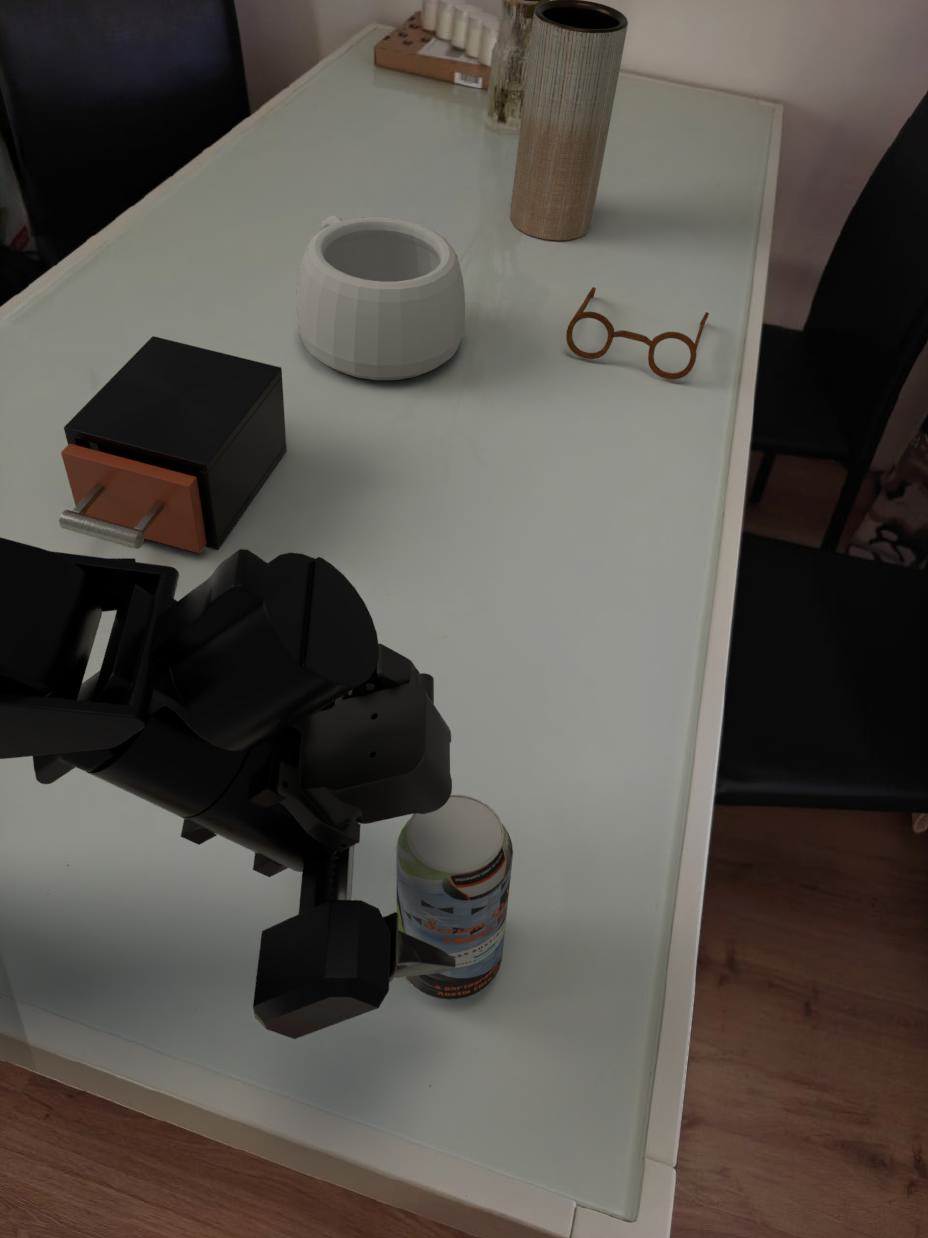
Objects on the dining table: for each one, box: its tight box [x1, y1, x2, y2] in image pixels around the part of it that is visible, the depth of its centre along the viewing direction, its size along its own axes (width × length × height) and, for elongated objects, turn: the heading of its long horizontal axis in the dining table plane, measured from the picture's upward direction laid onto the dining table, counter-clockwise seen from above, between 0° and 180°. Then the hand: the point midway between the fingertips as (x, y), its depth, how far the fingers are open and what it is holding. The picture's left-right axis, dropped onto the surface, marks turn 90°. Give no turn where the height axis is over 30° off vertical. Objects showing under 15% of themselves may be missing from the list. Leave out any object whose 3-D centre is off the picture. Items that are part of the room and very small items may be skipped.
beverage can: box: [395, 794, 514, 1000], centre depth 54 cm, size 6×7×12 cm
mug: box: [295, 214, 466, 381], centre depth 98 cm, size 21×17×10 cm
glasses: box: [565, 286, 710, 381], centre depth 103 cm, size 13×13×5 cm
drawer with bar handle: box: [58, 442, 207, 554], centre depth 78 cm, size 17×10×7 cm, turn 164°
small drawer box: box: [63, 335, 288, 551], centre depth 81 cm, size 14×12×9 cm
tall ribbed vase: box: [509, 0, 629, 242], centre depth 113 cm, size 10×10×23 cm
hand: (448, 881), depth 52 cm, fingers open, 9 cm apart
